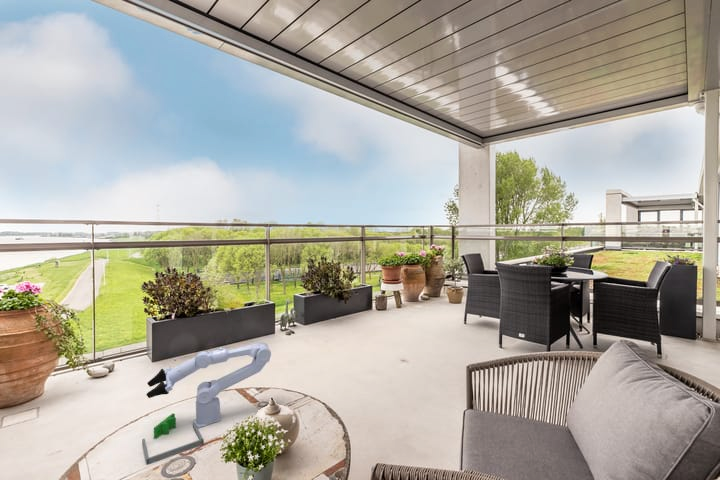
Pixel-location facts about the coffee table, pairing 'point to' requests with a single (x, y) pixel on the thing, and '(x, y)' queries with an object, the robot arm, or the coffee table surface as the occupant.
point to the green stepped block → (165, 426)
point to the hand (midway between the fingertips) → (148, 390)
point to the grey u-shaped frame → (173, 451)
